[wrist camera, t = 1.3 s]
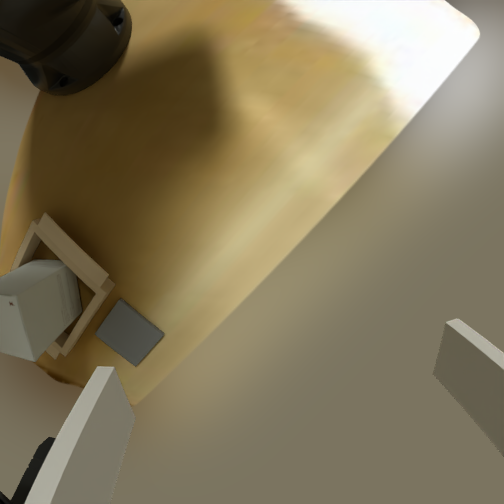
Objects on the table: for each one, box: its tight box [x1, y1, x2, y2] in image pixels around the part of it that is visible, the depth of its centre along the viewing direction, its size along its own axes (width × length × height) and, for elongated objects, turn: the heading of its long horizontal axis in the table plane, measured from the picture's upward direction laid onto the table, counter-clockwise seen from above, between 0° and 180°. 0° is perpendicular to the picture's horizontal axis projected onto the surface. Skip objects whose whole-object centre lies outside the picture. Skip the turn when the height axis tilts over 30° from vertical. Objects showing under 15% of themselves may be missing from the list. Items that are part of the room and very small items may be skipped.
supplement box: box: [0, 259, 82, 362], centre depth 27 cm, size 7×7×13 cm
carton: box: [10, 212, 116, 360], centre depth 31 cm, size 13×17×3 cm
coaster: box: [95, 298, 164, 367], centre depth 35 cm, size 7×7×1 cm
